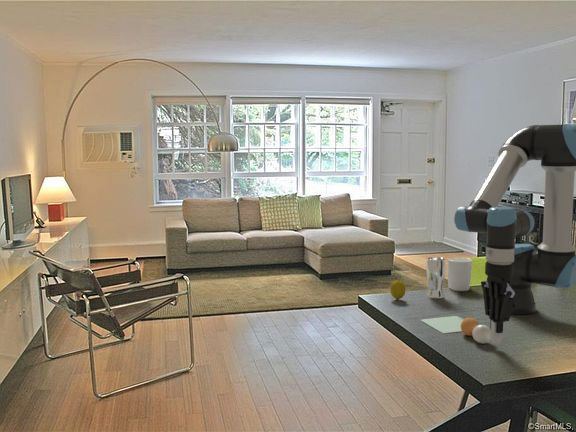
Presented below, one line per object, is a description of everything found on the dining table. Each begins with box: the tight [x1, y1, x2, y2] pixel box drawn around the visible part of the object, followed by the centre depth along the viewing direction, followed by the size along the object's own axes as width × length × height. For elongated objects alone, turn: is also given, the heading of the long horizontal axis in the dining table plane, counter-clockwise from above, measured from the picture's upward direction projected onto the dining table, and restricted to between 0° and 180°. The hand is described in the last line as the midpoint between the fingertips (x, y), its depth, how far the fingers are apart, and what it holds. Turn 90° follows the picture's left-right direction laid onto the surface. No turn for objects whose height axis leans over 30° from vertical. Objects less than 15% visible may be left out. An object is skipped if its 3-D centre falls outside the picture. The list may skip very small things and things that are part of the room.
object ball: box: [461, 317, 480, 337], centre depth 171 cm, size 6×6×6 cm
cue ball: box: [472, 324, 491, 344], centre depth 165 cm, size 6×6×6 cm
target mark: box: [419, 315, 464, 335], centre depth 182 cm, size 14×14×1 cm
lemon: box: [390, 279, 406, 301], centre depth 210 cm, size 6×6×8 cm
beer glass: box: [426, 256, 446, 300], centre depth 214 cm, size 7×7×15 cm
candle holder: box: [447, 256, 474, 292], centre depth 227 cm, size 10×10×12 cm
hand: (495, 342), depth 160 cm, fingers closed
